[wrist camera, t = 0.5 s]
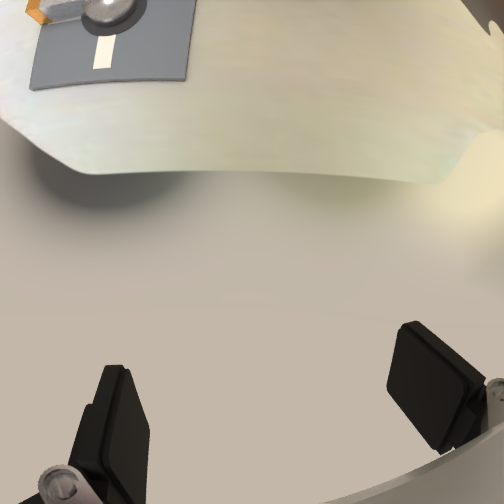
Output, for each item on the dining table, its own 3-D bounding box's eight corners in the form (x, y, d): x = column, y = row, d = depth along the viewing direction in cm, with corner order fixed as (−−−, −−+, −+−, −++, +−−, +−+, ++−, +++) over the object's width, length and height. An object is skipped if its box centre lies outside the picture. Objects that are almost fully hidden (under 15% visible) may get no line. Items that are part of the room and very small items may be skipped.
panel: (59, -18, 24) (55, -23, 23) (201, -31, 28) (202, -36, 27) (33, 90, 29) (28, 88, 28) (184, 80, 33) (184, 77, 31)
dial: (141, -14, 26) (135, -33, 22) (132, 25, 28) (124, 8, 23) (48, 0, 24) (33, -15, 19) (37, 38, 26) (20, 26, 21)
